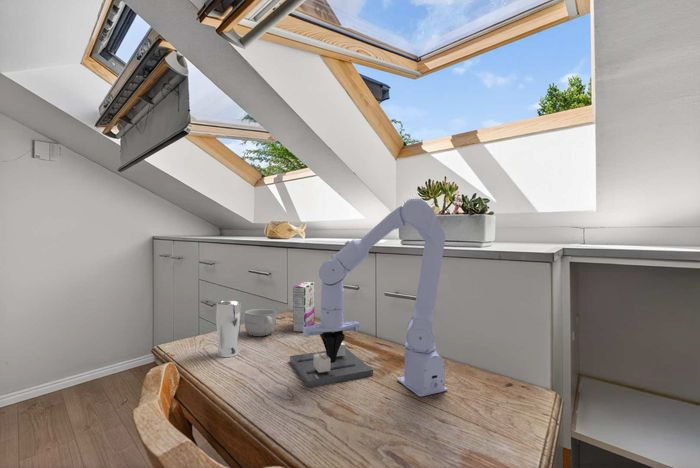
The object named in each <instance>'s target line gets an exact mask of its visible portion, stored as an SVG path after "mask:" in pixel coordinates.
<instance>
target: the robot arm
mask: <svg viewBox="0 0 700 468" xmlns="http://www.w3.org/2000/svg"><path fill="white" fill-rule="evenodd" d="M405 223H406V224H408V225H409V226H410V227H412V228H414V229H415V230H416V231H417V232H418V234H419V235H420V236H421V238H422V239H423V240H424V247H423V253H422V259H421V266H420V271H419V272H420V273H419V278H418V282H417V283H418V284H417V289H416V290H417V291H416V297H415V303H414V309H413V314H412V316H411V318H410V319H409V321H408V323H407V331H406V336H405V338H406V341H405V343H404V370H403V371H404V373H403V374H404V375H403V376H399V377H396V381H398V382H399V383H401V384H402V385H403V386H404V387H406V388H407V389H409V390H410V391H411V392H413V393H414V395H416V396H418V397H425V396H431V395H434V394H435V395H436V394H438V393H443V392H446V391H448V388H447V387H446V386H445V385H446V383H445V381H446V377H445V376H446V364H445V360H444V359H443V357H441V355H440V354H439V353H438V351H437V349H436V344H435V338H436V337H435V334H434V324H433V323H434V313H435V312H434V311H435V306H436V299H437V293H438V286H439V282H440V281H439V279H440V274H441V268H442V262H443V255H444V248H445V243H446V233H445V231H444V228H443V227H442V224H441V223H440V221H439V219H438V216H437V215H436V211H435V209H433V207H431V206H430V204H428V203H427V202H426V201H425V200H423V199H422V198H417V197H415V198H410V199H408V200H407V201H406V202H404V204H403V206H402V205H400V206H398V207H397V208H396V209H393V211H391V212H390V213H388V214H387V215H386V216H385V217H384V218H383V219H382V220H381V221H380V222H379V223H377V225H375V226H374V227H373V228H372V229H371V230H370V231H369V232H367V234H365V235H364V236H363V237H362V238H361V239H355V238H354V239H352V240H347V241H346V242H345V243H344V245H345V246H343V248H341V249H340V250H339V251H338V252H336V254H335V253H333V254H331V255H330V258H331V259H329V260H326V261H324V262H322V264H321V266H320V267H319V270H318V277H319V279H320V280H321V290H320V295H321V296H320V323H317V324H314V325H312V326H307V327H303V332H302V335H303V336H304V337H305V338H308V337H310V336H316V335H317V336H318V335H319V337H320V338H321V341H322V343H323V346H324V348H325V351H326V353H327V356H328V357H329V358H330V359H331V360H330V363H334V362H335V361H336V356H337V353H338V350H339V347H340V345H341V343H342V342H344V340H345V333H344V332H349V331H350V332H351V331H355V332H358V331H360V322H358V321H344V312H345V311H344V308H345V307H344V303H345V302H344V298H345V297H344V296H345V289H344V279H345V278H346V276H347V274H350V273H351V272H353V270H354V269H356V268H357V267H358V266H359V265H361V264H362V263H363V262H364V261H365V260H366V259H367V258H368V257H369V252H370V251H369V250H370V249H371V248H373V247H374V246H375V245H377V244H378V243H379V242H380V241H382V240H383V239H384V238H385V237H386V236H387V235H389V234H390V233H391V232H393V231H394V230H397V229H398V230H399V229H402V228H406V226H407V225H406V224H405Z"/></svg>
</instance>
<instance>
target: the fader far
mask: <svg viewBox="0 0 700 468" xmlns="http://www.w3.org/2000/svg"><path fill="white" fill-rule="evenodd" d="M346 345H347V344H346V343H345V342H344V341H342V343H341V345H340V347H339V350H338V353H337V356H343V355H345V354H346V349H347V347H346ZM337 356H336V357H337Z"/></svg>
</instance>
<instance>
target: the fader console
mask: <svg viewBox="0 0 700 468" xmlns="http://www.w3.org/2000/svg"><path fill="white" fill-rule="evenodd" d="M322 353H325V354H326V355H327V353H326V350H324V351H321V350H320V351H315V352H309V353H302V354H294V355H289V362H290V365H292V367H293V368H294V370H295V371H296V372H297V374H298V375H299V377H300V378H301V379H302V381H303V382H304V384H305V386H306V387H307V389H311V388H315V387H320V386H326V385H330V384H337V383H341V382H348V381H352V380H358V379H363V378H368V377H373V376H374V369H373V368H371V367H370V366H369V365H368V364H367V363H365V362H364V361H363V360H361V358H359V356H357V355H356V354H354V353H353V352H351V351H350V350H349V349H348V348H346V354H345V355H343V356H337V357H336V361H335V362H334V363H330V371H326V372H320V373H319V372H318V371H317V370H316V369H315V368H314V355H315V354H322Z"/></svg>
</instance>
